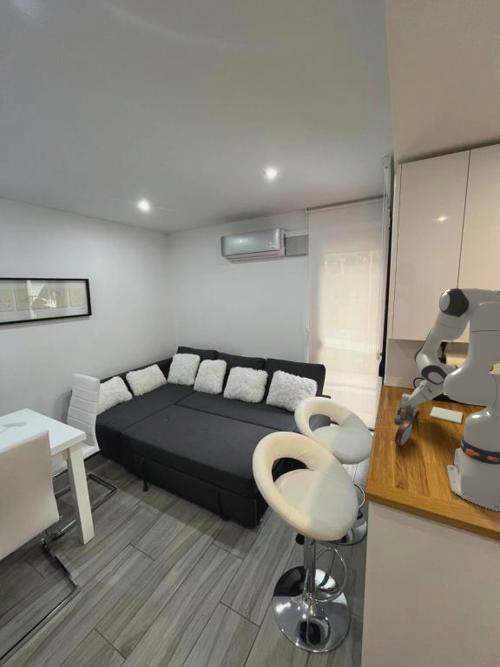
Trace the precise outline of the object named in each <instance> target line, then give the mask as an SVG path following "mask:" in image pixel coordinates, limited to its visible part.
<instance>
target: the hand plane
mask: <svg viewBox="0 0 500 667" xmlns="http://www.w3.org/2000/svg"><path fill="white" fill-rule="evenodd" d="M418 411H419V406H418V405H417V406H413V411H412V413H411V414H407V410H404V409H401V404H400V405H399V407H398V408H397V411H396V412H397V413H396V415H395V417H394V420H393V423H395V424H398V425H401V424H402V423H403V422H404V421H405V420H407V421H409V422H411V423H412V424H413V421H414V419H415V418H416V415H417V414H418Z"/></svg>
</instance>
